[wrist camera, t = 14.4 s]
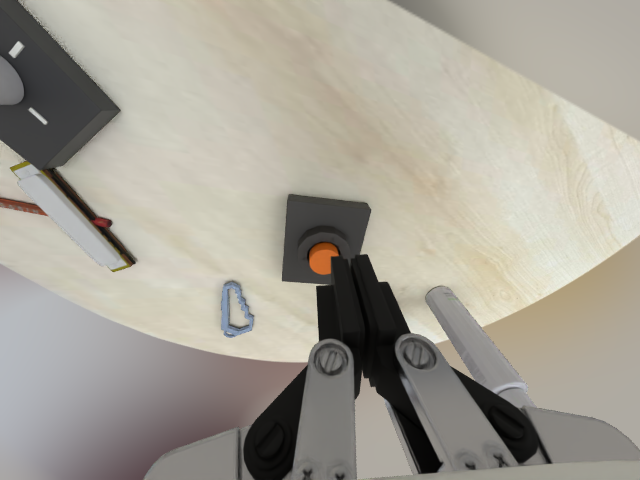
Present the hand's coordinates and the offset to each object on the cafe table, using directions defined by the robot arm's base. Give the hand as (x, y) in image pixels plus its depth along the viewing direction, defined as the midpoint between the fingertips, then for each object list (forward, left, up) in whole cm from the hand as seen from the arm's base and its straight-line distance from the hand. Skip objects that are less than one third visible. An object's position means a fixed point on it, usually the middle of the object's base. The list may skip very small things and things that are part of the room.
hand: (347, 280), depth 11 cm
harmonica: (+4, -30, -19) cm, 35 cm away
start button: (+9, 0, -15) cm, 18 cm away
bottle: (+21, +19, -19) cm, 34 cm away
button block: (+9, 0, -19) cm, 21 cm away
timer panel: (-10, -27, -19) cm, 35 cm away
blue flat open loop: (+21, -14, -19) cm, 31 cm away
